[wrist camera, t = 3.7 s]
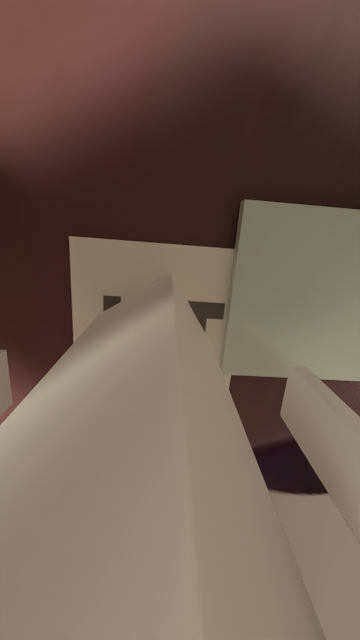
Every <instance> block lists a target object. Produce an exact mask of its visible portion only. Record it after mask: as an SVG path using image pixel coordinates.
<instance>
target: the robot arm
mask: <svg viewBox="0 0 360 640" xmlns="http://www.w3.org/2000/svg"><path fill="white" fill-rule="evenodd" d="M11 404H12V394H11V385H10V377H9V368H8V360H7V351H6V350H0V416H1V415H2V414H3V412H4V411H5V410H6V409H7V408H8V407H9V406H10V405H11ZM280 416H281V417H282V419H283V421H284V422H285V424H286V426H287V427H288V429H289V430H290V432H291V434H292V435H293V437H294V438H295V440H296V442H297V443H298V445H299V446H300V448H301V450H302V451H303V453H304V455H305V456H306V458H307V459H308V461H309V463H310V464H311V466H312V467H313V469H314V471H315V472H316V474H317V475H318V477H319V479H320V480H321V482H322V483H323V485H324V487H325V488H326V490H327V492H328V493H329V495H330V496H331V498H332V500H333V501H334V503H335V504H336V506H337V508H338V509H339V510H340V512H341V514H342V515H343V517H344V519H345V520H346V522H347V524H348V525H349V527H350V529H351V530H352V532H353V533H354V535H355V537H356V538H357V540H358V541H359V543H360V417H359V416H358V415H357V414H356V413H355V412H354V411H353V410H352V409H351V408H350V407H349V406H347V405H346V404H345V403H344V402H343V401H342V400H341V399H340V398H339V397H338V396H337V395H336V394H335V393H334V392H333V391H332V390H331V389H329V388H328V387H327V386H326V385H325V384H324V383H323V382H322V381H321V380H320V379H319V378H318V377H317V376H316V375H315V374H314V373H313V372H311V371H310V370H309V369H308V368H307V367H306V366H292V365H290V369H289V374H288V379H287V383H286V388H285V393H284V397H283V402H282V407H281V412H280Z"/></svg>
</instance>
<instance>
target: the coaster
mask: <svg viewBox="0 0 360 640" xmlns="http://www.w3.org/2000/svg"><path fill="white" fill-rule="evenodd" d="M290 365H292V366H306V367H307V368H308V369H309V370H310V371H311V372H313V373H314V374H315V375H316V376H317V377H318V378H319V379H323V380H343V381H360V210H358V209H347V208H336V207H325V206H313V205H302V204H291V203H280V202H269V201H258V200H246V199H245V200H243V201H241V204H240V211H239V219H238V226H237V234H236V242H235V252H234V259H233V267H232V275H231V282H230V290H229V297H228V305H227V313H226V320H225V328H224V335H223V343H222V351H221V358H220V368H221V371H222V373H223V375H243V376H263V377H283V378H288V374H289V369H290Z"/></svg>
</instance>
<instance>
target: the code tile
mask: <svg viewBox="0 0 360 640" xmlns="http://www.w3.org/2000/svg"><path fill="white" fill-rule="evenodd" d="M69 248H70V272H71V295H72V319H73V343H74V342H75V341H76V340H77V339H78V338H79V336H80V335H81V334H82V333H83V332H84V331H85V330H86V329H87V327H88V326H89V325H90V324H91V323H92V322H93V321H94V320H95V318H96V317H97V316H98V315H99V314H100V313H102V312H104V311H105V310H107V309H109V308H111V307H113V306H114V305H116V304H118V303H120V302H122V301H123V300H125V299H127V298H129V297H130V296H132V295H134V294H136V293H138V292H139V291H141V290H143V289H145V288H147V287H148V286H150V285H152V284H154V283H156V282H157V281H159V280H161V279H163V278H164V277H166V276H168V275H170V274H173V276H174V278H175V279H176V281H177V283H178V285H179V287H180V288H181V290H182V292H183V294H184V296H185V298H186V299H187V301H188V303H189V305H190V307H191V308H192V310H193V312H194V314H195V316H196V317H197V319H198V321H199V323H200V325H201V326H202V328H203V330H204V332H205V334H206V335H207V337H208V339H209V341H210V343H211V345H212V348H213V350H214V353H215V355H216V358H217V361H218V363H219V366H220V358H221V351H222V343H223V335H224V328H225V320H226V313H227V305H228V297H229V290H230V282H231V275H232V267H233V259H234V252H235V249H228V248H215V247H203V246H190V245H177V244H164V243H152V242H139V241H126V240H113V239H100V238H88V237H75V236H69ZM223 376H224V379H225V381H226V384H227V386H228V389H229V385H230V378H231V375H223Z"/></svg>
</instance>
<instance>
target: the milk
mask: <svg viewBox="0 0 360 640" xmlns="http://www.w3.org/2000/svg"><path fill="white" fill-rule="evenodd" d="M0 640H326V638H325V636H324V633H323V631H322V628H321V626H320V623H319V620H318V618H317V615H316V613H315V610H314V607H313V605H312V602H311V600H310V597H309V595H308V592H307V589H306V587H305V584H304V582H303V579H302V577H301V574H300V571H299V569H298V566H297V564H296V561H295V559H294V556H293V553H292V551H291V548H290V546H289V543H288V541H287V538H286V535H285V533H284V530H283V528H282V525H281V523H280V520H279V518H278V515H277V513H276V510H275V507H274V505H273V502H272V499H271V497H270V494H269V492H268V489H267V487H266V484H265V481H264V479H263V476H262V474H261V471H260V469H259V466H258V463H257V461H256V458H255V456H254V453H253V451H252V448H251V445H250V443H249V440H248V438H247V435H246V433H245V430H244V427H243V425H242V422H241V420H240V417H239V415H238V412H237V409H236V407H235V404H234V402H233V399H232V397H231V394H230V391H229V389H228V386H227V384H226V381H225V379H224V376H223V373H222V371H221V368H220V366H219V363H218V361H217V358H216V355H215V353H214V350H213V348H212V345H211V343H210V341H209V339H208V337H207V335H206V334H205V332H204V330H203V328H202V326H201V325H200V323H199V321H198V319H197V317H196V316H195V314H194V312H193V310H192V308H191V307H190V305H189V303H188V301H187V299H186V298H185V296H184V294H183V292H182V290H181V288H180V287H179V285H178V283H177V281H176V279H175V278H174V276H173V274H170V275H168V276H166V277H164V278H163V279H161V280H159V281H157V282H156V283H154V284H152V285H150V286H148V287H147V288H145V289H143V290H141V291H139V292H138V293H136V294H134V295H132V296H130V297H129V298H127V299H125V300H123V301H122V302H120V303H118V304H116V305H114V306H113V307H111V308H109V309H107V310H105V311H104V312H102V313H100V314H99V315H98V316H97V317H96V318H95V320H94V321H93V322H92V323H91V324H90V325H89V326H88V327H87V329H86V330H85V331H84V332H83V333H82V334H81V335H80V336H79V338H78V339H77V340H76V341H75V342H74V343H73V344H72V345H71V347H70V348H69V349H68V350H67V351H66V352H65V353H64V354H63V356H62V357H61V358H60V359H59V360H58V361H57V362H56V363H55V365H54V366H53V367H52V368H51V369H50V370H49V371H48V372H47V374H46V375H45V376H44V377H43V378H42V379H41V380H40V381H39V383H38V384H37V385H36V386H35V387H34V388H33V389H32V391H31V392H30V393H29V394H28V395H27V396H26V397H25V398H24V400H23V401H22V402H21V403H20V404H19V405H18V406H17V407H16V409H15V410H14V411H13V412H12V413H11V414H10V415H9V416H8V418H7V419H6V420H5V421H4V422H3V423H2V424H1V425H0Z"/></svg>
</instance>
